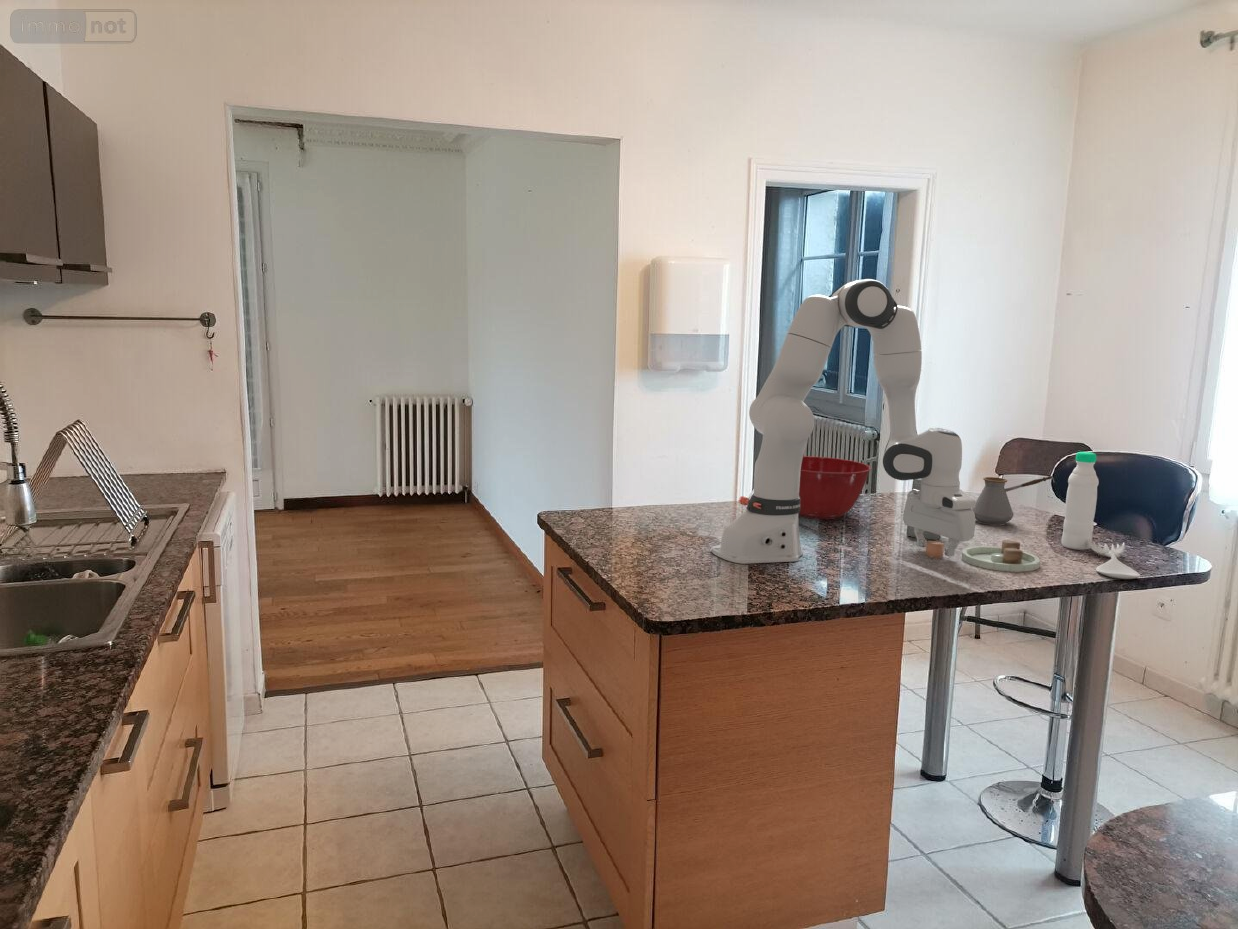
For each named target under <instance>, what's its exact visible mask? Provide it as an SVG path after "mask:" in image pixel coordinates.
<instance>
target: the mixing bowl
mask: <svg viewBox="0 0 1238 929" xmlns="http://www.w3.org/2000/svg"><path fill="white" fill-rule="evenodd" d="M871 470H872V467H871V466H870V465H869V464H866V463H863V462H859V461H855V460H850V459H842V458H836V457H826V456H825V457H824V456H804V455H803V459H802V464H801V473H800V488H799V497H800V498H801V502H800V513H799V516H798V517H803V518H807V519H816V520H833V519H839V518H841V516H844V515H845V514H847V513H849V511H851V509H852V508H853V506H854V505H855V504H856V502H857V500H858V499H859V497H860V495H861V493H862V490H863V489H864V487H865V485H866V483H867V482H866V481H867V478H868V476H869V473H870V471H871ZM838 517H839V518H838Z"/></svg>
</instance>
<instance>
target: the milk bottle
mask: <svg viewBox="0 0 1238 929" xmlns="http://www.w3.org/2000/svg"><path fill="white" fill-rule="evenodd" d="M1096 462H1097V454H1096V453H1094V452H1089V451H1078V452H1077V453H1075V463H1076V467H1074V468H1073V470H1072V472H1071V473H1070V475H1069V477H1068V479H1067V483H1068V487H1067V491H1066V498H1065V507H1064V520H1063V525H1062V529H1063V532H1062V536H1061V542H1060V543H1061V545H1062V546H1063V547H1064V548H1066V549H1069V550H1075V551H1077V550H1078V551H1088V550H1090V549H1092V548H1091V547H1090V546H1089V545H1088V543H1087V539H1089V540H1090V542H1091V543H1093V532H1094V520H1095V514H1096V509H1097V507H1096V506H1097V500H1098V486H1099V482H1100V481H1099V477H1098V476H1097V473H1096V472H1097V471H1096V470H1095V468H1094V465H1095V464H1096Z"/></svg>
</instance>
